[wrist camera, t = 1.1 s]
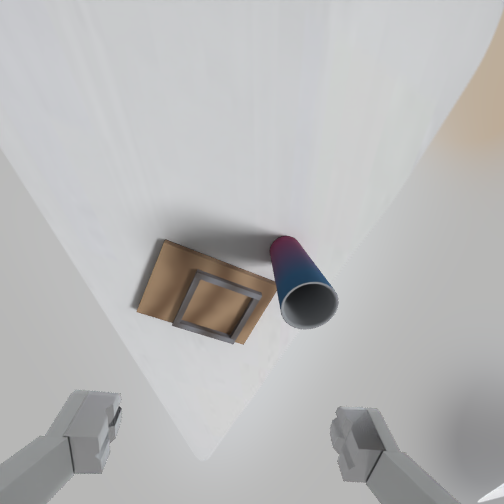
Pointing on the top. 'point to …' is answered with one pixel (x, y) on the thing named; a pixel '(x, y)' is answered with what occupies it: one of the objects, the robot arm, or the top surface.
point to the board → (205, 294)
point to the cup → (301, 286)
